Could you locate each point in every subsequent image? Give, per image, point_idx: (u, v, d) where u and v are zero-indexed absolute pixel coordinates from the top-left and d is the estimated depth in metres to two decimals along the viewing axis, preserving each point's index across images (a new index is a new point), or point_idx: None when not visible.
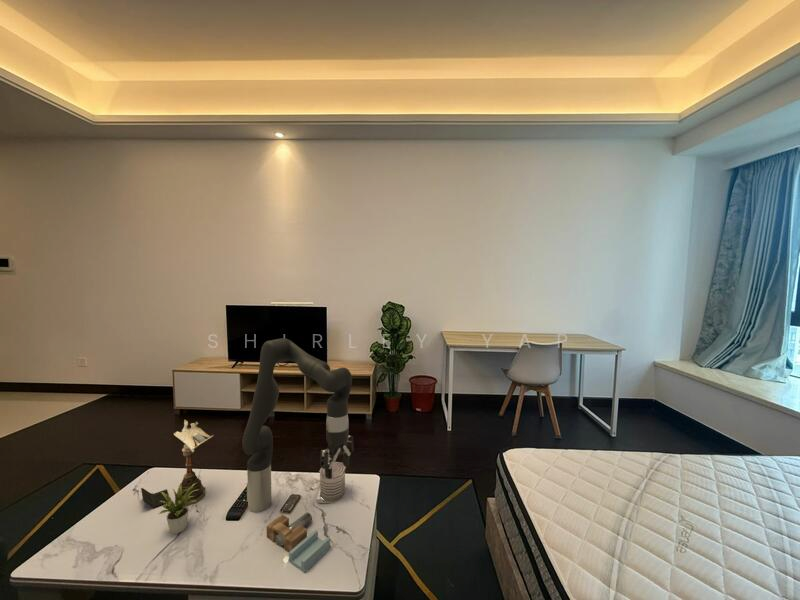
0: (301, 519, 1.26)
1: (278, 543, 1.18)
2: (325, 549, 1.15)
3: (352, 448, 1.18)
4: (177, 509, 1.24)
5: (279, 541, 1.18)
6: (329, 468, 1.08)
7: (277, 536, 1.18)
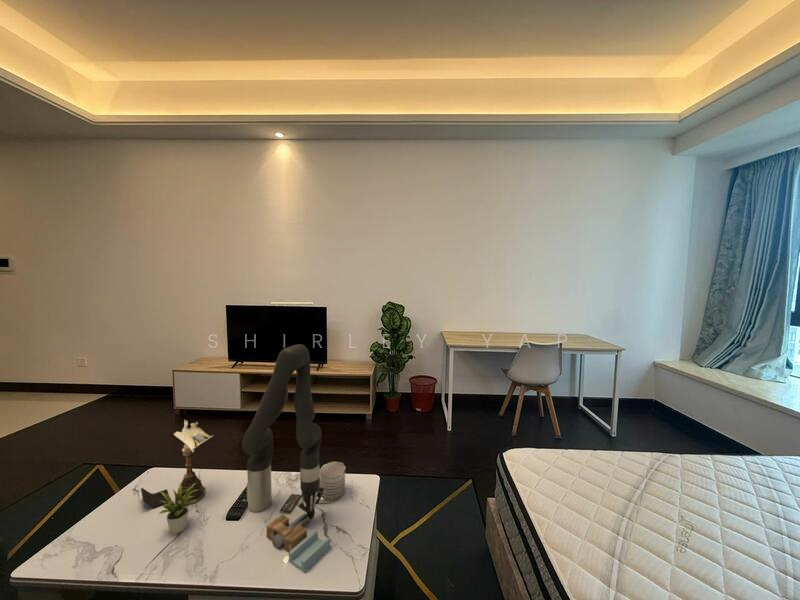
0: (298, 520, 1.25)
1: (275, 544, 1.17)
2: (325, 549, 1.15)
3: (318, 500, 1.32)
4: (177, 509, 1.24)
5: (276, 543, 1.17)
6: (310, 511, 1.29)
7: (274, 537, 1.17)
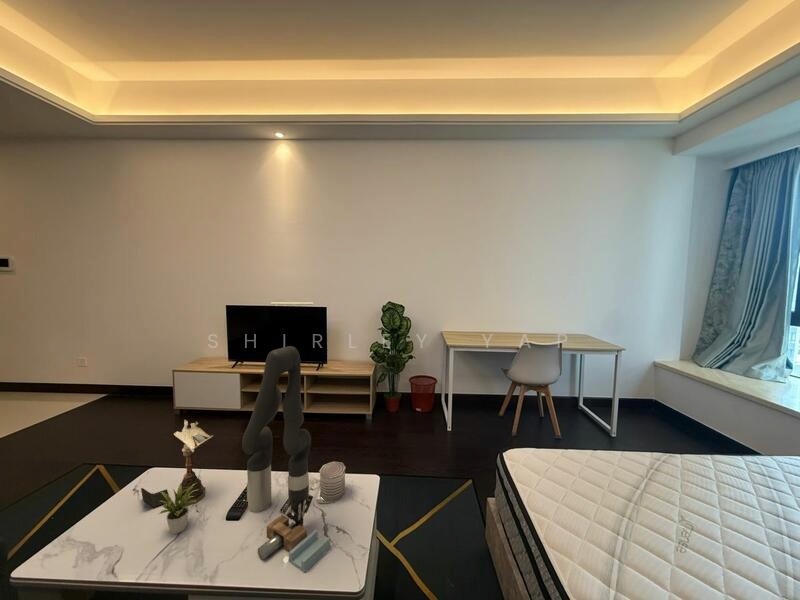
0: None
1: (261, 556, 1.12)
2: (325, 549, 1.15)
3: (307, 509, 1.27)
4: (177, 509, 1.24)
5: (262, 554, 1.12)
6: (299, 520, 1.24)
7: (259, 549, 1.12)
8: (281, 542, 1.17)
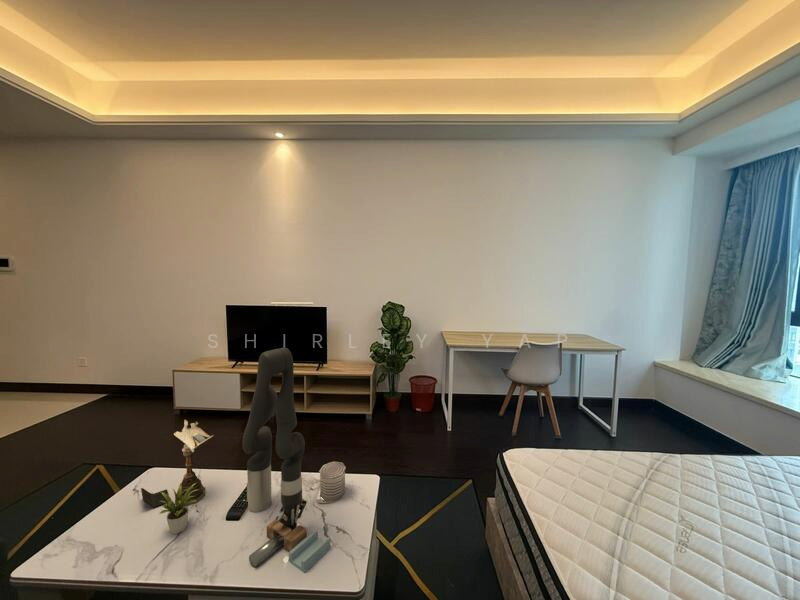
0: (278, 536, 1.17)
1: (252, 563, 1.09)
2: (325, 549, 1.15)
3: (300, 513, 1.25)
4: (177, 509, 1.24)
5: (253, 561, 1.09)
6: (292, 525, 1.21)
7: (250, 556, 1.10)
8: (273, 549, 1.14)
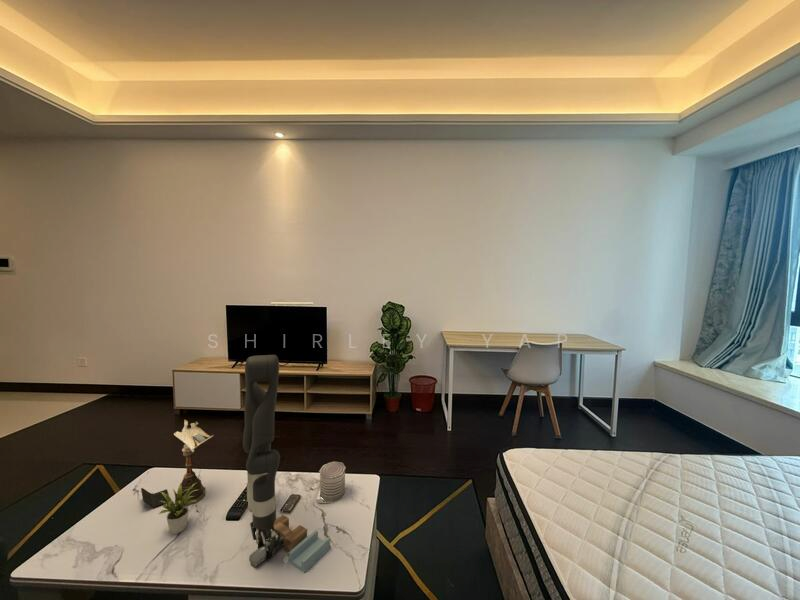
0: None
1: (252, 563, 1.09)
2: (325, 549, 1.15)
3: (270, 548, 1.09)
4: (177, 509, 1.24)
5: (253, 561, 1.09)
6: None
7: (251, 555, 1.09)
8: (274, 549, 1.14)
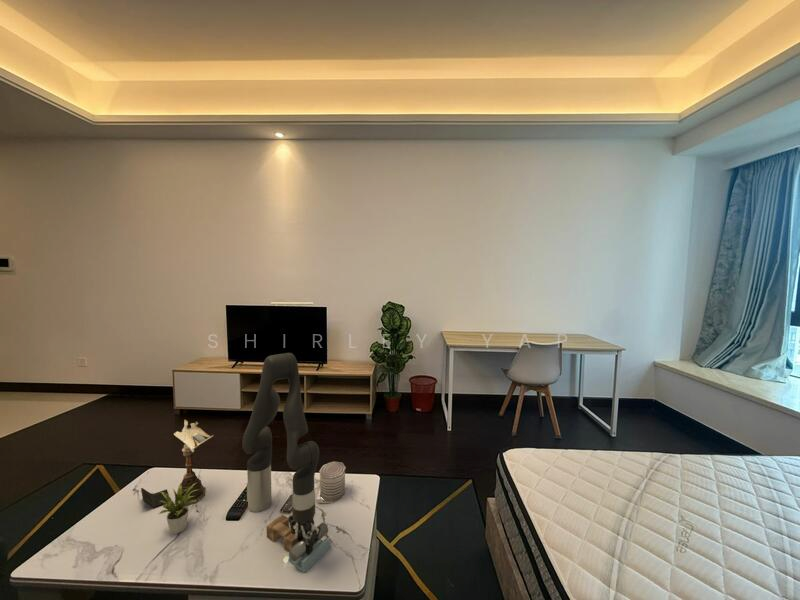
0: None
1: (293, 557, 1.08)
2: (325, 549, 1.15)
3: (311, 541, 1.08)
4: (177, 509, 1.24)
5: (294, 555, 1.07)
6: (295, 537, 1.12)
7: (291, 549, 1.08)
8: None
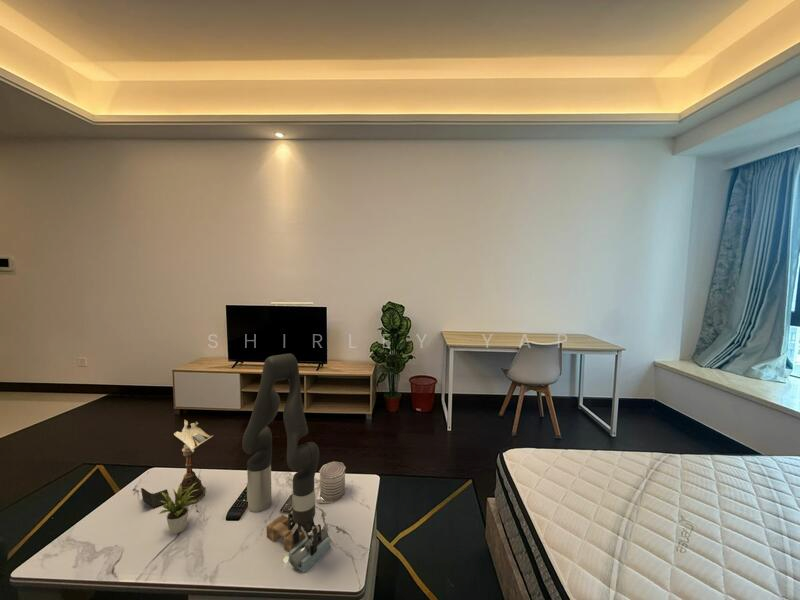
0: None
1: (293, 564, 1.08)
2: (325, 549, 1.15)
3: (314, 542, 1.07)
4: (177, 509, 1.24)
5: (294, 563, 1.07)
6: (291, 532, 1.13)
7: (292, 557, 1.08)
8: None
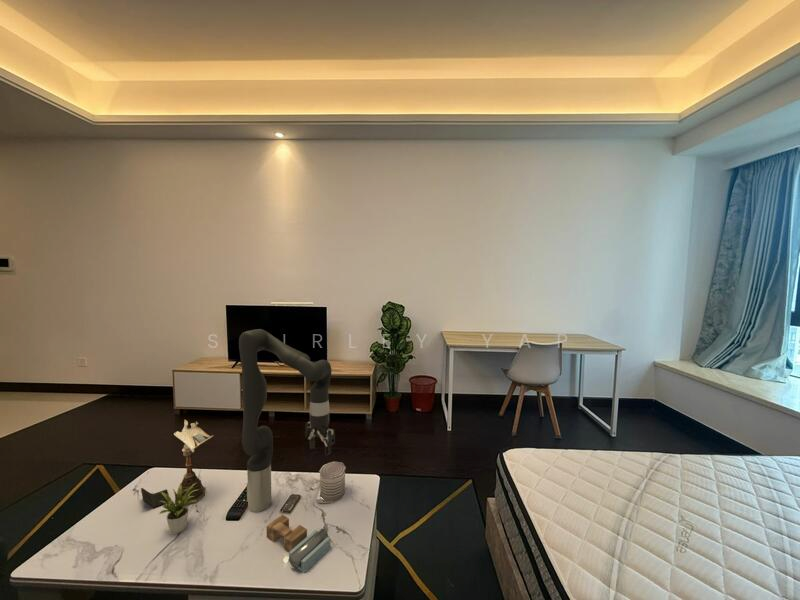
0: (316, 536, 1.16)
1: (293, 564, 1.08)
2: (325, 549, 1.15)
3: (329, 442, 1.25)
4: (177, 509, 1.24)
5: (294, 562, 1.07)
6: (308, 438, 1.31)
7: (291, 556, 1.08)
8: (313, 549, 1.12)
